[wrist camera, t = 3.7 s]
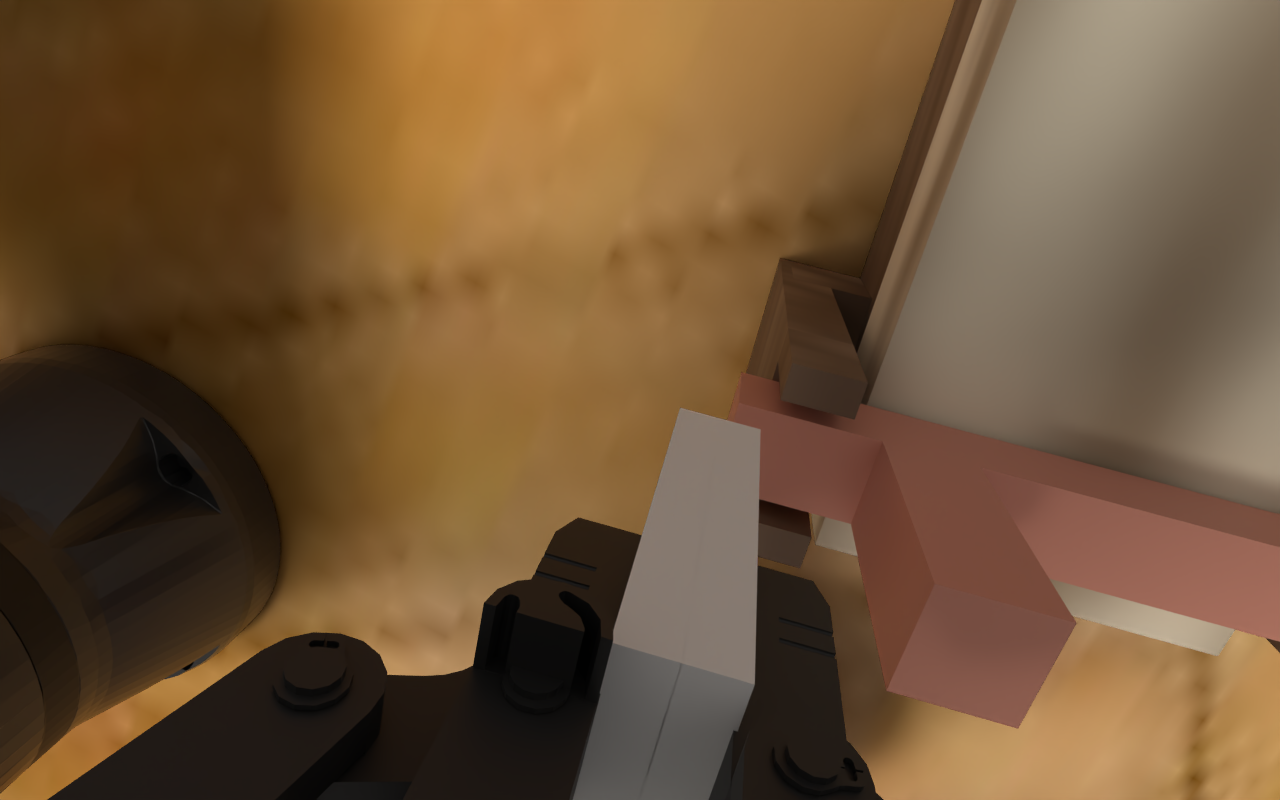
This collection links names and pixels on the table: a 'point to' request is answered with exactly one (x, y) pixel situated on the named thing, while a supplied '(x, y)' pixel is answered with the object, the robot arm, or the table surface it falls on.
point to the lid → (1099, 257)
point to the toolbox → (843, 304)
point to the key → (1001, 545)
